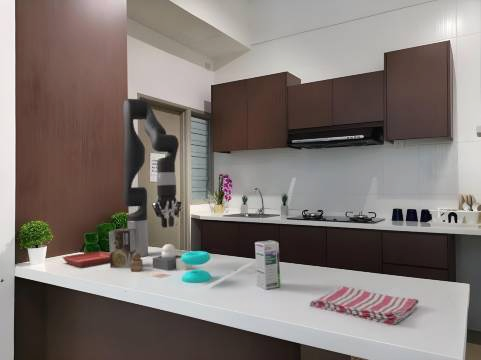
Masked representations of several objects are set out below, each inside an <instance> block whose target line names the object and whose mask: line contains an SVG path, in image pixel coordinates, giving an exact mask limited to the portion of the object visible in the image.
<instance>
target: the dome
mask: <svg viewBox="0 0 481 360" xmlns="http://www.w3.org/2000/svg"><path fill="white" fill-rule="evenodd" d="M176 255H177V253H176V247H175V246H174V245H173V244H172V243H167V244H164V245H163V246H162V248H161V256H162V258H163V259H171V258H176Z"/></svg>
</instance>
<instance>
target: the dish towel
mask: <svg viewBox="0 0 481 360" xmlns="http://www.w3.org/2000/svg"><path fill="white" fill-rule="evenodd" d="M418 305H419V300H418V299H416V298H410V297H403V296H402V297H399V296H390V295H387V294H382V293H375V292H370V291H366V290H364V289H363V290H362V289H359V288H353V287H347V286H339V287H337V288H336V289H335V290H332V291H330V292H328V293H325V294H324V295H323V296H320V297H318V298H317V299H313V300H311V301H310V302H309V306H310V307H312V308H316V309H321V310H326V311H330V312H335V313H338V314H339V313H340V314H343V315H347V316H352V317H354V318H362V319H364V320H366V321H370V322H375V323H379V324H386V325H387V326H388V325H389V326H393V325H396V324H397V323H399V322H400V321H403V320H404V319H406V318H407V317H408V316H409V315H410V314H411V313H413V311H414V310H415V308H417V306H418Z"/></svg>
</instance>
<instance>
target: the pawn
mask: <svg viewBox="0 0 481 360" xmlns="http://www.w3.org/2000/svg"><path fill="white" fill-rule="evenodd" d="M132 259H133V260H131V268H130V271H131V272H132V273H135V272H136V273H137V272H139V271H140V272H141V271H142V270H144V267H143V265H144V264H143V259H142V257H141V256H140V254H139V253H134V254H133V256H132ZM131 272H130V273H131Z"/></svg>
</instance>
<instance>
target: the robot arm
mask: <svg viewBox="0 0 481 360" xmlns="http://www.w3.org/2000/svg"><path fill="white" fill-rule="evenodd" d="M134 120H140V121H141V120H145V121H144V124H143V129H144V131H145V133H146V135H147V136H148V137H149V138H150V141H151V147H152V149H153V151H155V152H159V153H166V155H165V156H164V157H160V158H158V159H157V161H156V169H157V170H156V171H157V172H156V173H157V174H156V191H157V192H156V194H157V197H158V198H157V200H156V202H154V203H153V202H152V204H151V206H152V208H153V210H154V213H155V215H156V218H160V219H161V227H162V228H163V229H165V228H168V227H169V228H172V227H173V228H174V225H175V217H176V216H178V215H179V212H180V209H181V205H182V201H178V200H177V198H176V196H177V178H176V165H175V164H176V159H177V155H178V150H179V146H180V145H179V144H180V143H179V139H178V137H177V136H176V135H174V134H167V131H166V129H165V128H164V127H163V125H162V123H160V121H158V119H157V117H156V115H155V113H154V111H153V109H152V107H151V104H150V103H149V102H148V101H147V100H146V99H143V98H142V99H141V98H127V99H124V101H123V121H124V123H123V124H124V186H123V203H124V206H126V207H129V208H131V207H139V209H137V210H136V211H134V212H131V213H130V214H127V229H135V235H136V253H139V254H140V256H141V258H143V257H146V256H147V257H148V256H149V235H148V233H149V232H148V191H147V188H146V187H143V186H139V187H132V185H133V181H134V180H135V178H136V176H137V174H138V173H139V172H140V170H141V169H142V167H143V165H144V164H145V158H146V148H145V145H144V143H143V141H142V140H141V138H140V137H139V135H138V134H137V131H136V129H135V125H134V124H135V123H134ZM167 217H168V218H167Z"/></svg>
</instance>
